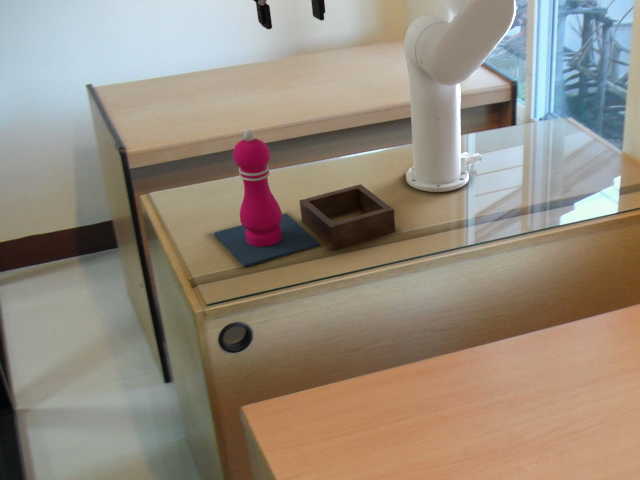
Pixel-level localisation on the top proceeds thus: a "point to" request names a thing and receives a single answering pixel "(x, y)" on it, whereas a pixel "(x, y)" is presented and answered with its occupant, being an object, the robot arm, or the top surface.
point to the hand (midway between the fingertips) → (293, 22)
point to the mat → (250, 255)
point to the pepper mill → (257, 193)
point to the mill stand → (352, 229)
